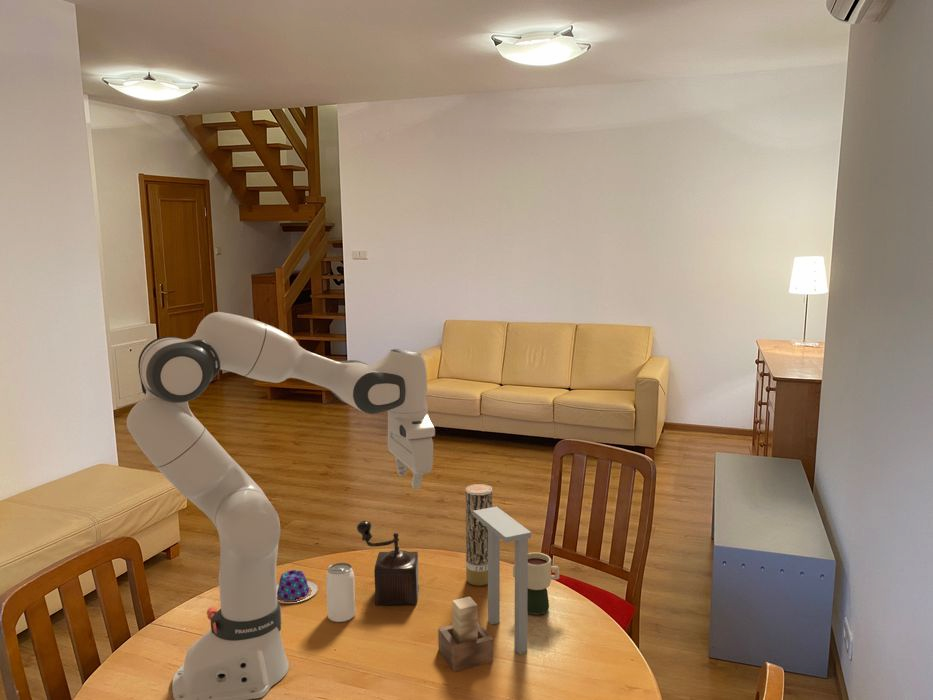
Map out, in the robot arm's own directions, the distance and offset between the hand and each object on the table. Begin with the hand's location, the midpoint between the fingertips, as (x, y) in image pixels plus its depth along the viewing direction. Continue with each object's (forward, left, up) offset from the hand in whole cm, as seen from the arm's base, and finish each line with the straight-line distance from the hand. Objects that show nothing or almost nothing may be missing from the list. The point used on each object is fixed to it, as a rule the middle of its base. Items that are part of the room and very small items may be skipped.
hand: (409, 481), depth 157 cm
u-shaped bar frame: (+16, -14, -34) cm, 40 cm away
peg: (+6, -17, -34) cm, 39 cm away
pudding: (-22, +26, -35) cm, 49 cm away
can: (-14, +10, -34) cm, 38 cm away
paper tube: (+23, +12, -34) cm, 43 cm away
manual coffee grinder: (-1, +15, -34) cm, 38 cm away
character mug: (+29, -7, -34) cm, 45 cm away
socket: (+6, -17, -34) cm, 39 cm away
